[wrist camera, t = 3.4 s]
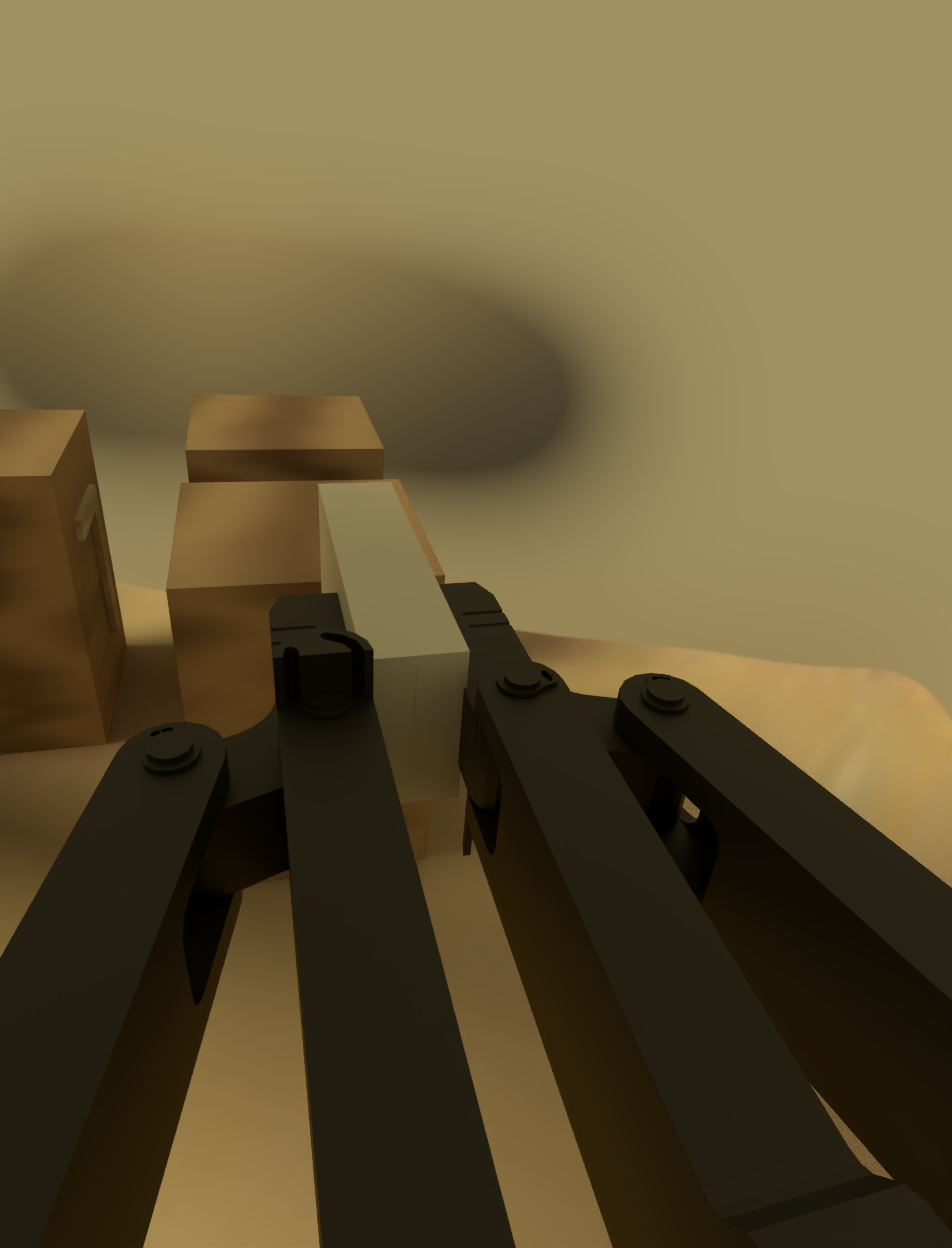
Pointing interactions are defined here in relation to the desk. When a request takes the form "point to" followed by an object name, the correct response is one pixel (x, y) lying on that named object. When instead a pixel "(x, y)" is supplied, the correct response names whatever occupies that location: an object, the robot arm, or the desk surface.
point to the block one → (281, 439)
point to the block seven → (54, 587)
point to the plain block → (249, 598)
